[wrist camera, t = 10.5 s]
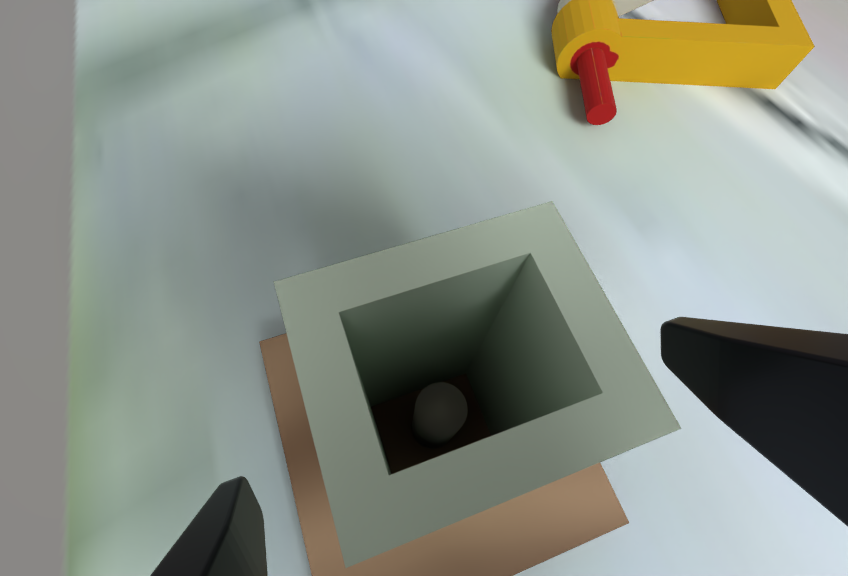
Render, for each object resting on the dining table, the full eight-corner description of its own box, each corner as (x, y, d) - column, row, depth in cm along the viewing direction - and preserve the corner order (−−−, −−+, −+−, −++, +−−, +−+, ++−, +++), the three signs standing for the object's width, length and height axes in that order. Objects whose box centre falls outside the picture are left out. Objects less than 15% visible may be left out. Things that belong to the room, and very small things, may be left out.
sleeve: (530, 464, 17) (681, 428, 8) (377, 526, 16) (345, 568, 7) (479, 343, 19) (552, 201, 10) (338, 391, 18) (273, 281, 9)
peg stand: (617, 521, 17) (694, 530, 13) (334, 647, 15) (306, 713, 11) (499, 274, 21) (526, 215, 17) (266, 348, 19) (224, 303, 15)
